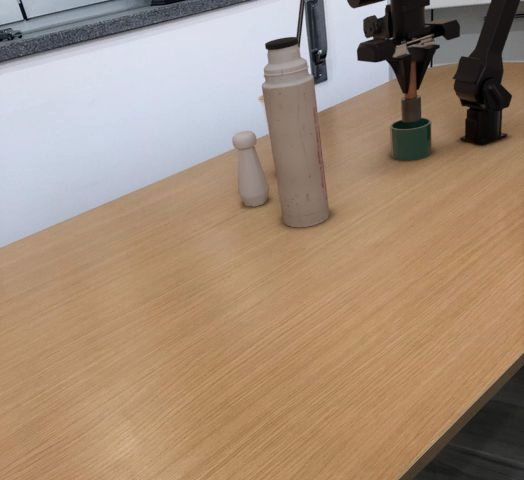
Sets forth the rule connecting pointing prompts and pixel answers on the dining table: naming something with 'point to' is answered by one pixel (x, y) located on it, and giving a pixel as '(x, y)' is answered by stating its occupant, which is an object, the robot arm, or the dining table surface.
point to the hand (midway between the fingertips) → (410, 91)
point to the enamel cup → (411, 139)
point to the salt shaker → (250, 170)
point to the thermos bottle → (294, 134)
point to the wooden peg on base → (411, 99)
